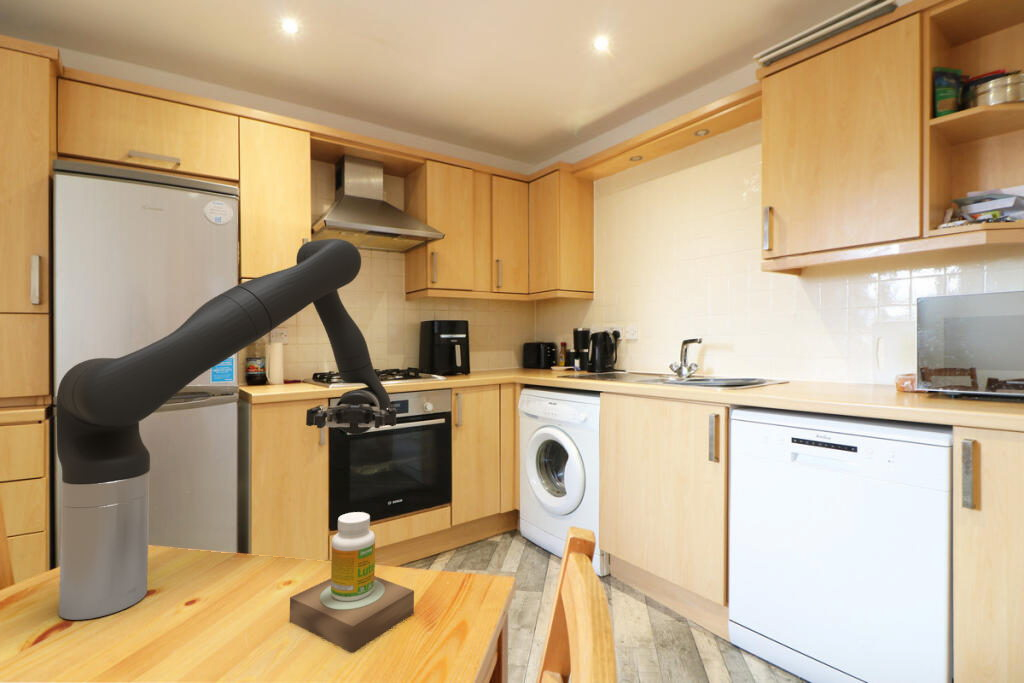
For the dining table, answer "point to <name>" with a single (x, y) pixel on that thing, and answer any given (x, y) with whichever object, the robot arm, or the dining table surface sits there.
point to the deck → (351, 613)
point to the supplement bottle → (353, 558)
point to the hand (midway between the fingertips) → (348, 421)
